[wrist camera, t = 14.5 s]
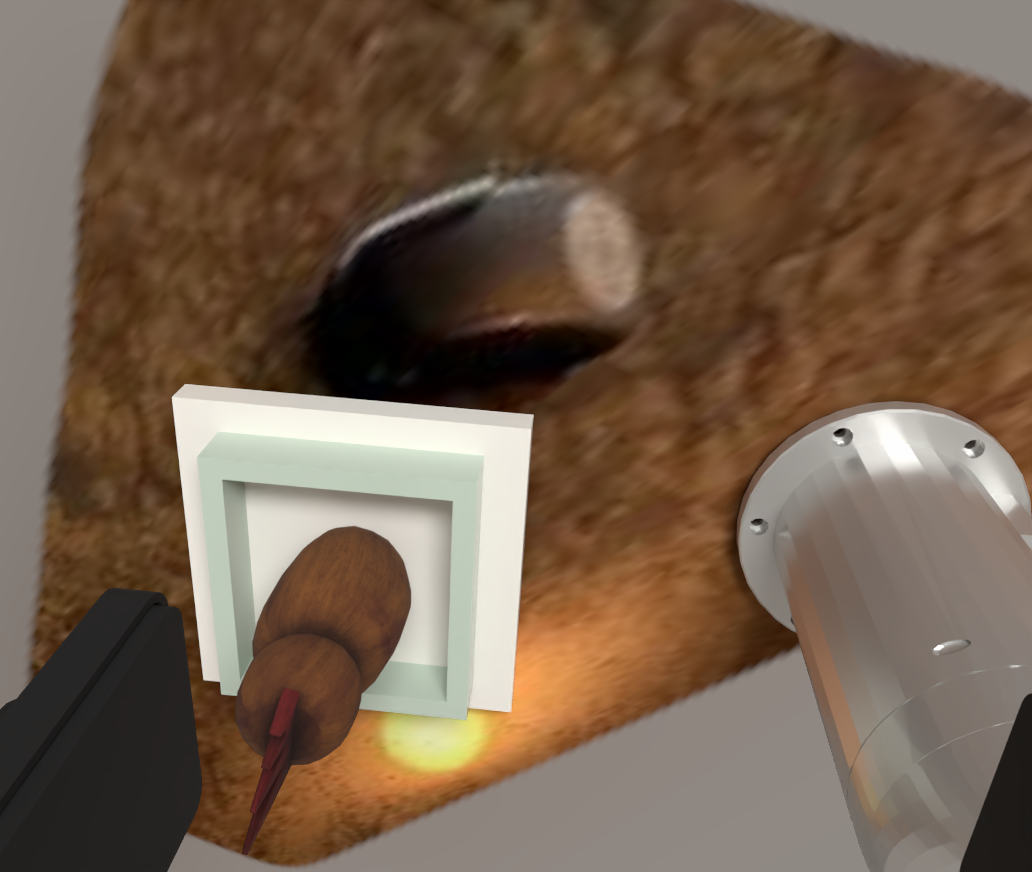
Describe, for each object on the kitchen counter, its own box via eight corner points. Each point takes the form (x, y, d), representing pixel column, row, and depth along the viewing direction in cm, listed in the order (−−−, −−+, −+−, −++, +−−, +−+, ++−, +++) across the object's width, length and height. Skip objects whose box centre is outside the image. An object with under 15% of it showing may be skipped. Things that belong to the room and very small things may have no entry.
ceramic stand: (533, 414, 42) (526, 455, 39) (513, 692, 49) (506, 748, 46) (185, 384, 43) (147, 420, 40) (214, 661, 50) (184, 713, 47)
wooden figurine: (373, 640, 47) (278, 907, 33) (271, 581, 46) (131, 832, 32) (445, 547, 44) (374, 797, 30) (339, 482, 43) (216, 712, 29)
